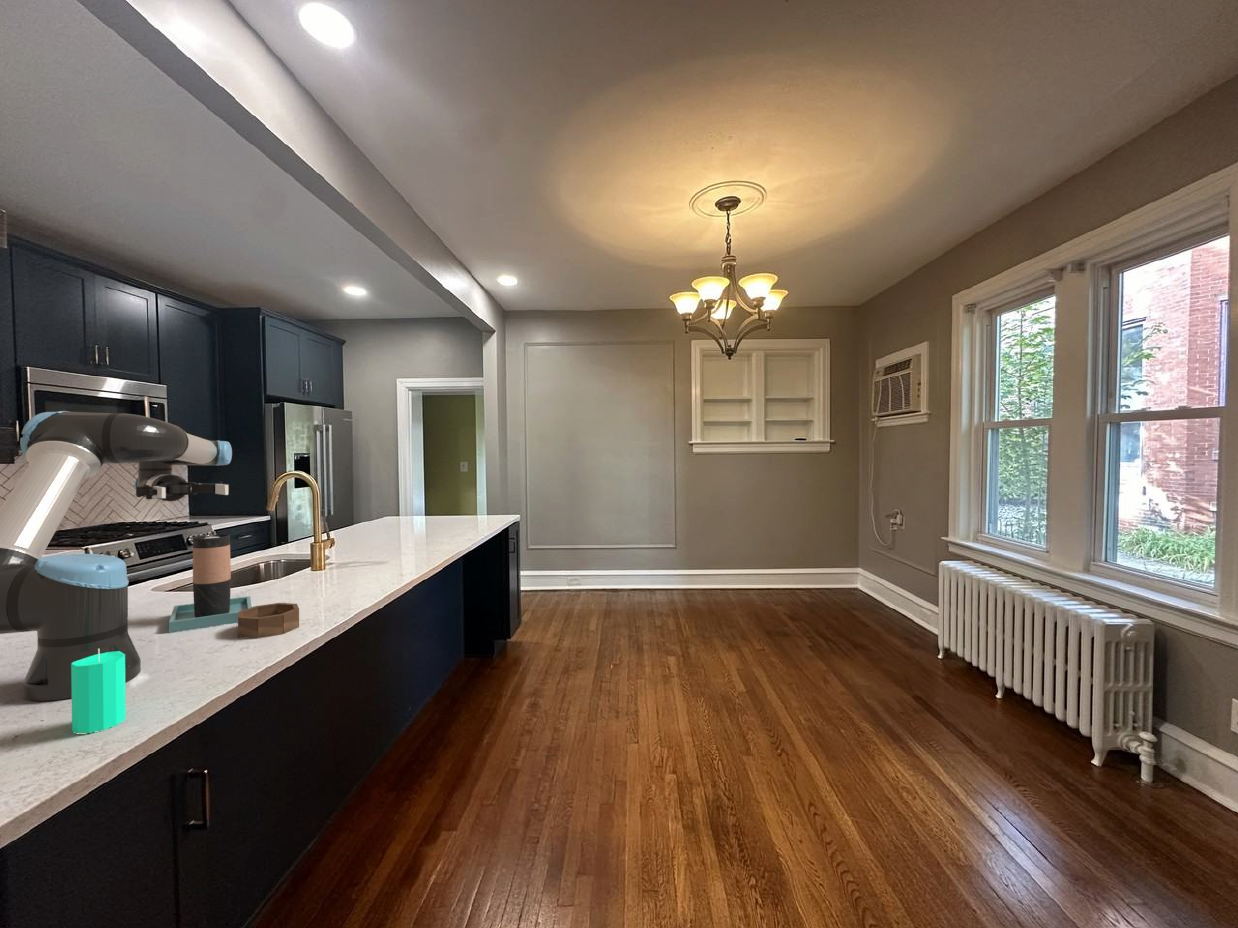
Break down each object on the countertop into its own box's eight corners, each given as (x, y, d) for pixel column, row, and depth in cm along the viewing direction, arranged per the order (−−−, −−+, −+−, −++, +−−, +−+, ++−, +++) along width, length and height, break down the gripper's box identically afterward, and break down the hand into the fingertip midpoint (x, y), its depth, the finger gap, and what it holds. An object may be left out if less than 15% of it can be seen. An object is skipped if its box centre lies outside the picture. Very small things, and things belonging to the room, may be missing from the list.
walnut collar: (238, 641, 117) (238, 621, 117) (237, 626, 127) (237, 608, 127) (300, 630, 124) (300, 612, 124) (295, 617, 134) (295, 600, 134)
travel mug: (215, 618, 129) (214, 538, 129) (184, 618, 129) (184, 538, 129) (238, 609, 137) (237, 533, 137) (209, 609, 137) (209, 533, 137)
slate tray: (168, 632, 122) (168, 622, 122) (174, 615, 135) (174, 605, 135) (252, 620, 132) (252, 610, 132) (250, 605, 144) (250, 596, 144)
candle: (75, 739, 77) (74, 659, 77) (68, 726, 81) (67, 649, 81) (130, 722, 82) (129, 647, 82) (121, 711, 86) (120, 639, 85)
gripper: (219, 497, 160) (250, 501, 148) (108, 504, 139) (134, 509, 127) (218, 473, 160) (250, 475, 148) (107, 476, 139) (133, 478, 127)
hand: (196, 491), depth 138 cm, fingers open, 13 cm apart
